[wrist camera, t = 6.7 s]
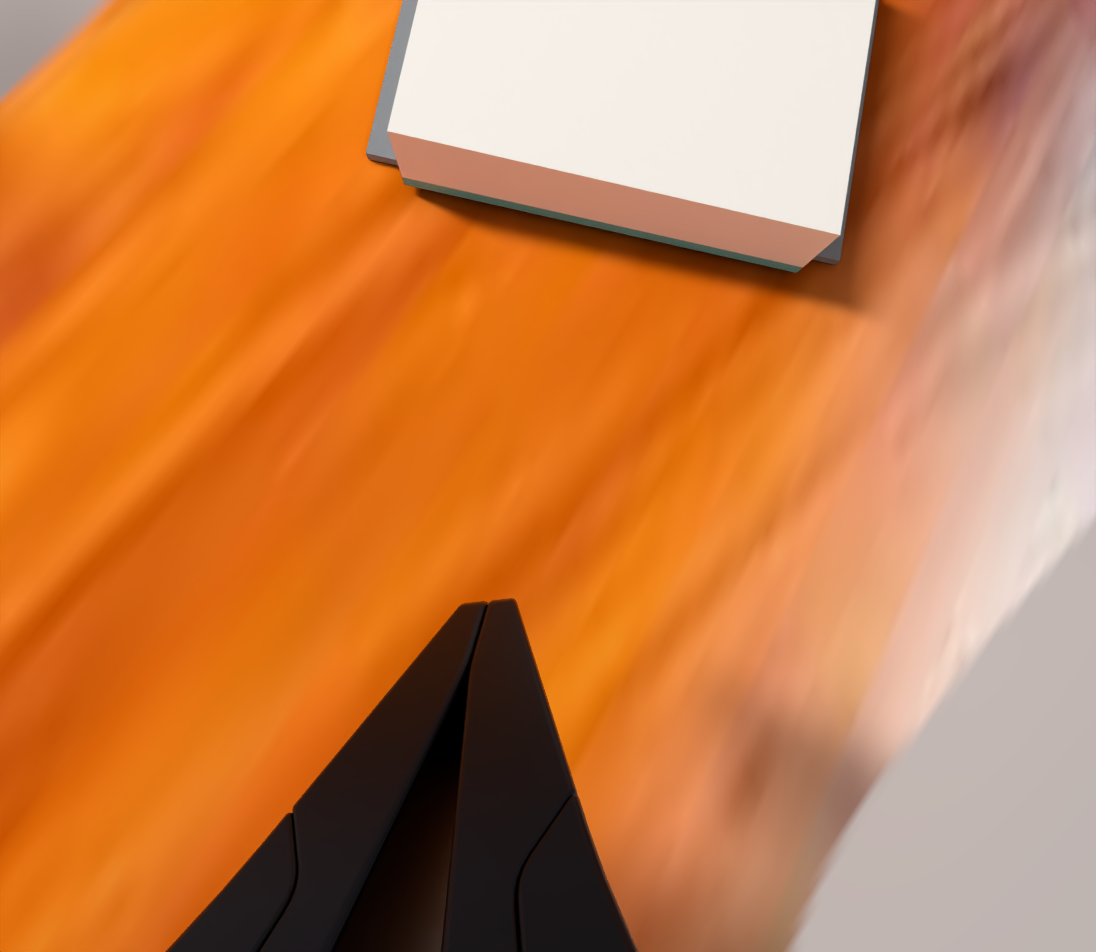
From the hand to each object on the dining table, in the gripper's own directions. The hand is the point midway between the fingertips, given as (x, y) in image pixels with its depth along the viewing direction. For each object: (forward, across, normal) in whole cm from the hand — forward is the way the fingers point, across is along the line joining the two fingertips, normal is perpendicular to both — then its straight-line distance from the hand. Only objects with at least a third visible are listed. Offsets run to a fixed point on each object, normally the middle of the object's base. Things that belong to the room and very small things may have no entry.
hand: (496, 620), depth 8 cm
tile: (+13, -3, -4) cm, 14 cm away
